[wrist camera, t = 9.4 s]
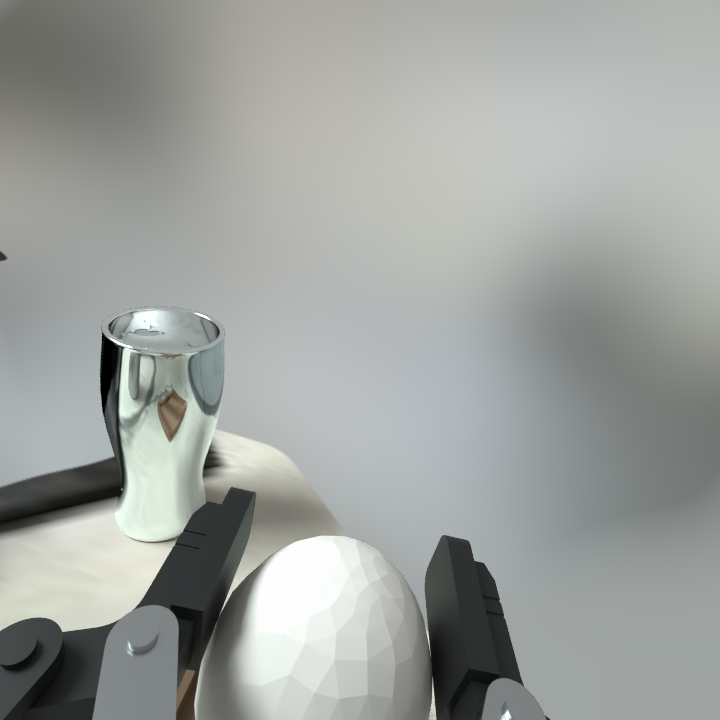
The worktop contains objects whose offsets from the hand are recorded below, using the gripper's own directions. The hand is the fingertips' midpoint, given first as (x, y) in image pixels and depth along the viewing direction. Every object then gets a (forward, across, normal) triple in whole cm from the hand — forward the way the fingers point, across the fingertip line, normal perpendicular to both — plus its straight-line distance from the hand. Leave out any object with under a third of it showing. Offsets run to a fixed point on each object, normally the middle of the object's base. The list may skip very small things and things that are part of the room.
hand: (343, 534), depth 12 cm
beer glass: (+13, +12, +16) cm, 24 cm away
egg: (-2, 0, +6) cm, 7 cm away
